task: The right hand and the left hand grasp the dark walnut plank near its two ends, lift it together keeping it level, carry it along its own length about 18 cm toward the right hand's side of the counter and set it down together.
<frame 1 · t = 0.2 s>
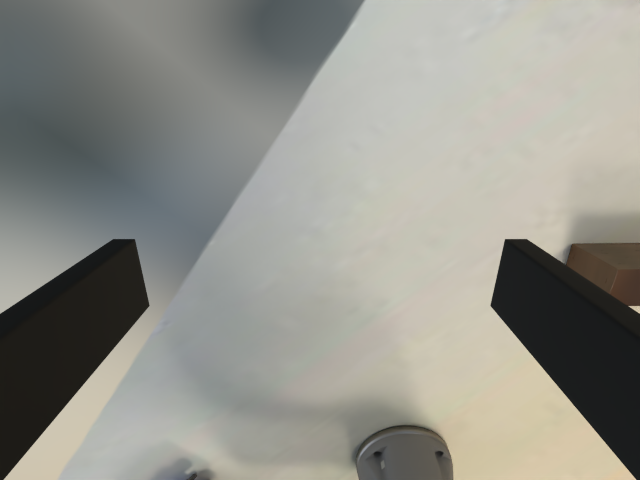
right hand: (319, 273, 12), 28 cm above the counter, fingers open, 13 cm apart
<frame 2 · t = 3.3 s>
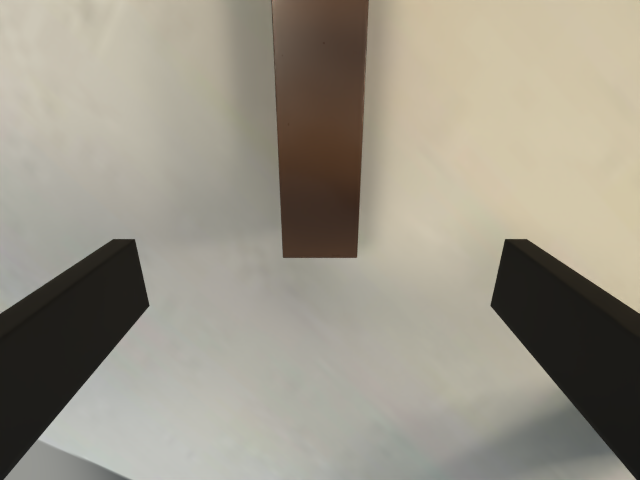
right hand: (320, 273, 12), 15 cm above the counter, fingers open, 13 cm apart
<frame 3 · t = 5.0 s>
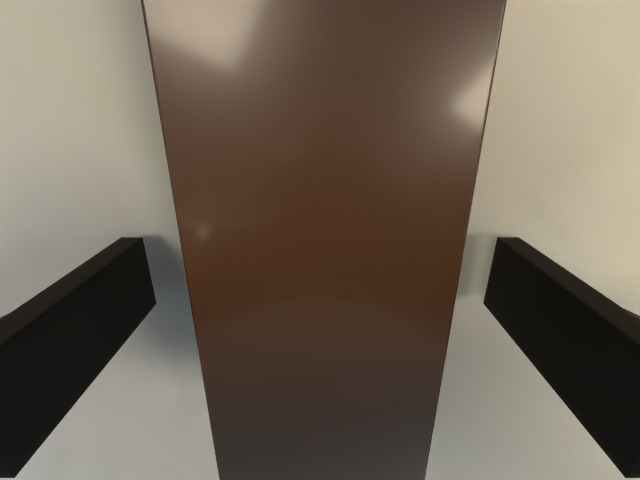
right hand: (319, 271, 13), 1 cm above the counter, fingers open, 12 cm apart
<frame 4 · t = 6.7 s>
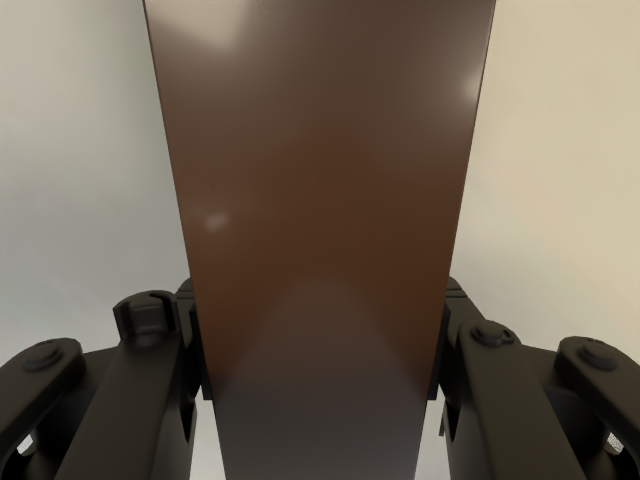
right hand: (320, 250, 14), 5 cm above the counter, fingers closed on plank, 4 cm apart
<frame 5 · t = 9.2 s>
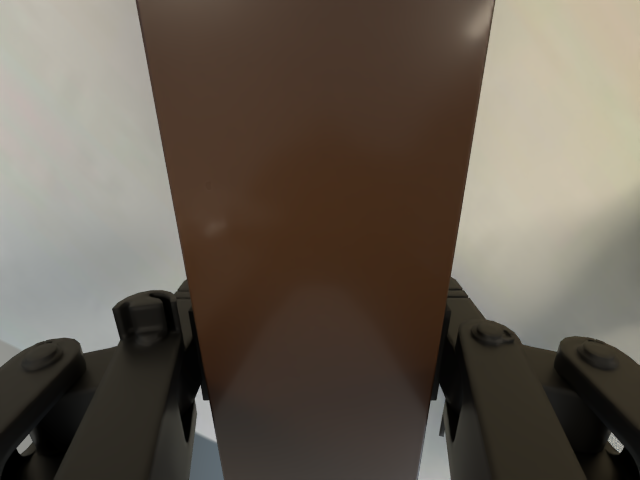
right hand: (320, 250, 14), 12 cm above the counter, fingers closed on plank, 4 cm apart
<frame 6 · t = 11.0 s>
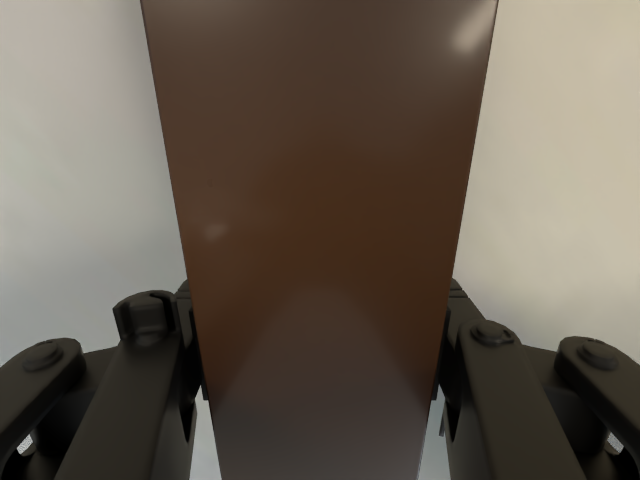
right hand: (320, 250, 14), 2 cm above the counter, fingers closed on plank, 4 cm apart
when the left hand's fingers open (3 cm above the counter, at t = 12.0 s): plank stays where it is, on the counter.
when the right hand's fingers open (0 cm above the counter, at t = 12.2 s): plank stays where it is, on the counter.
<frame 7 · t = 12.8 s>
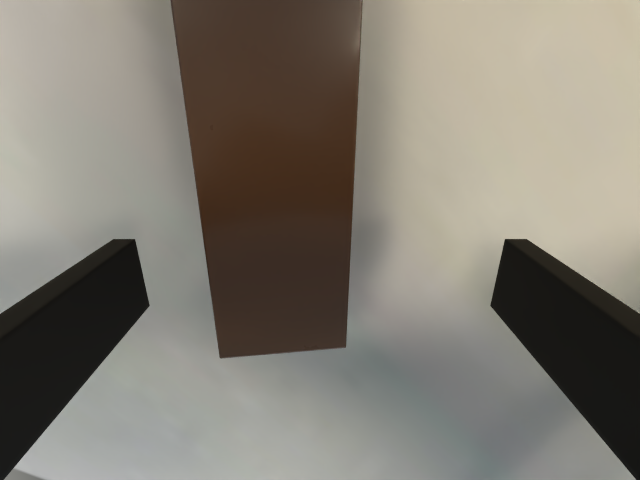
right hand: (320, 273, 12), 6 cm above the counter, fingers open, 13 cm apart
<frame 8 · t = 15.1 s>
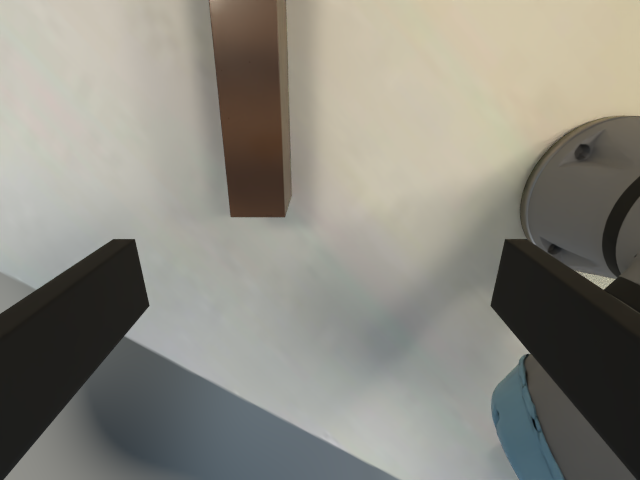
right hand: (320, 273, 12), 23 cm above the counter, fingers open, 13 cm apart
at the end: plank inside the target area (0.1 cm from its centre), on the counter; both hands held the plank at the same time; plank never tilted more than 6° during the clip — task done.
